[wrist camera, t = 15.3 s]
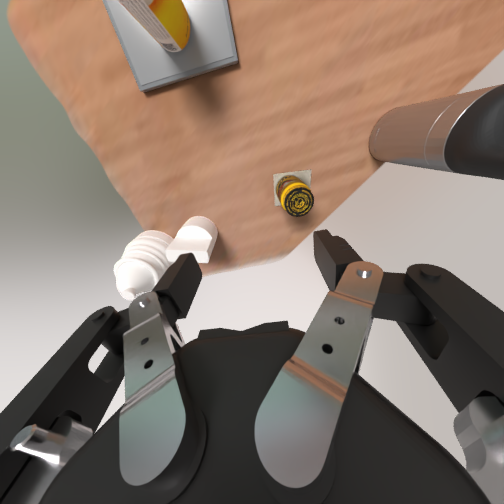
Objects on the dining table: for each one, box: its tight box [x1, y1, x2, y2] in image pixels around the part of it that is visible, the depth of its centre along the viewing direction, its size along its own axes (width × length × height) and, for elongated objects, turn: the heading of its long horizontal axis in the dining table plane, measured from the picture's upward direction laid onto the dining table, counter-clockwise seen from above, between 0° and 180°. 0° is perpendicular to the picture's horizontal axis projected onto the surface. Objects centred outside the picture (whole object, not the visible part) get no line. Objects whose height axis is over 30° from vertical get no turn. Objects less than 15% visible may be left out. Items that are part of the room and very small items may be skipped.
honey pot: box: [114, 230, 174, 300], centre depth 43 cm, size 13×13×18 cm
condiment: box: [273, 170, 314, 217], centre depth 37 cm, size 7×8×12 cm
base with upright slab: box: [165, 216, 218, 263], centre depth 43 cm, size 9×9×12 cm
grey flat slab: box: [103, 0, 238, 92], centre depth 28 cm, size 18×12×1 cm, turn 102°
